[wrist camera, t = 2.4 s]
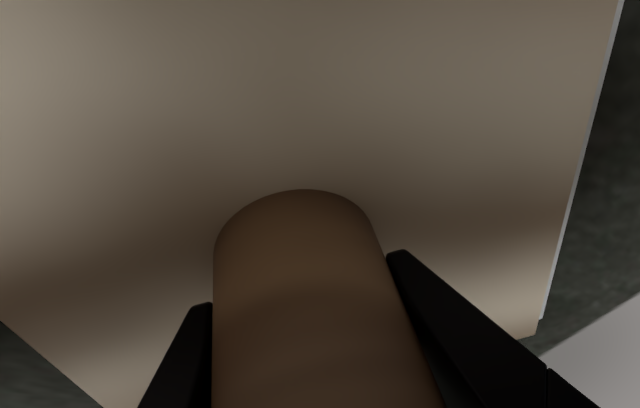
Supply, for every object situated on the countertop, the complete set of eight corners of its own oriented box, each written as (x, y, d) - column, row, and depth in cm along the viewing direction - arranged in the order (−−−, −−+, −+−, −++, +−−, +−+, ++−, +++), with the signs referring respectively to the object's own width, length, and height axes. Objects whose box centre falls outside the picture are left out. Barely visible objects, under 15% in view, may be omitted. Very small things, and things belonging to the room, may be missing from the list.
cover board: (518, 309, 15) (654, 516, 10) (149, 411, 14) (116, 669, 10) (617, -208, 6) (1702, -378, 2) (-262, 17, 6) (-1759, 524, 1)
